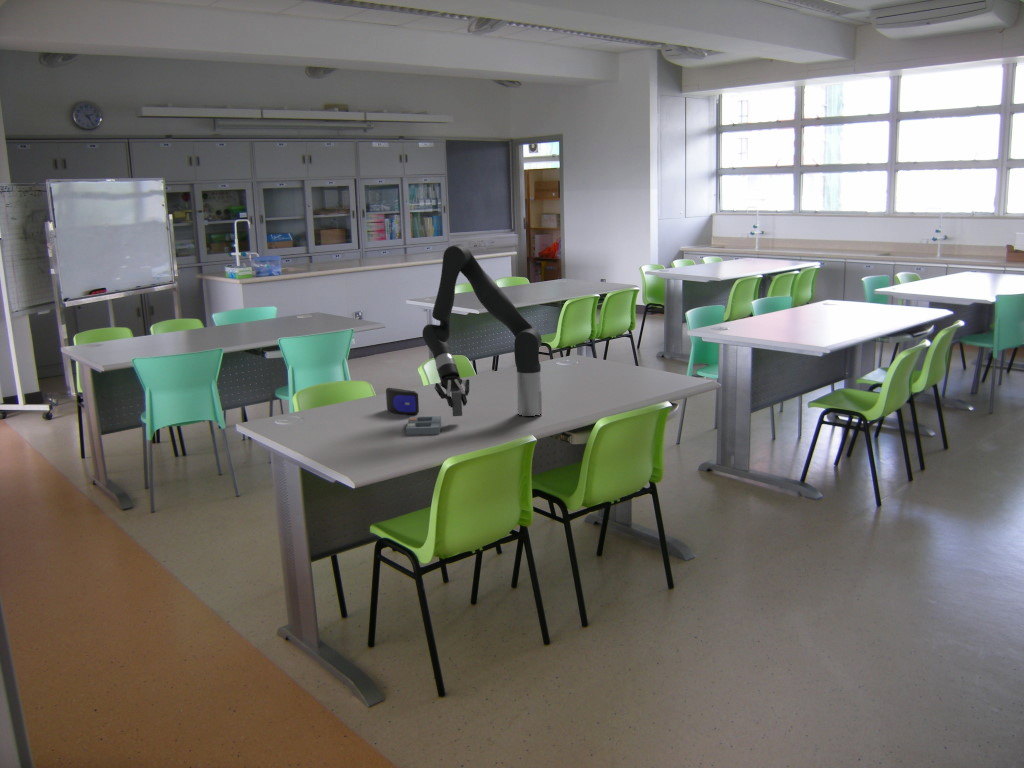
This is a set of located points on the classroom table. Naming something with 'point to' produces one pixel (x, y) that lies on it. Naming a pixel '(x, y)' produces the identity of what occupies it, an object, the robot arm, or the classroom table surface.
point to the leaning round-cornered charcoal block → (402, 401)
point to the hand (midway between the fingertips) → (458, 405)
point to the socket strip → (423, 425)
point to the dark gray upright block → (457, 403)
